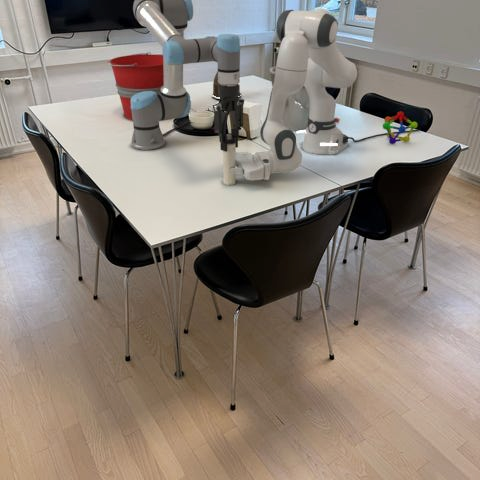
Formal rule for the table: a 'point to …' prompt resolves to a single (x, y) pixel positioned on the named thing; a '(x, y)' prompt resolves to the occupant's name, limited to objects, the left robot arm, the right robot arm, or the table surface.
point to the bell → (216, 86)
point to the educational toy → (398, 128)
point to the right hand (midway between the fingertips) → (227, 167)
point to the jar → (229, 164)
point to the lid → (231, 139)
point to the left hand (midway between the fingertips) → (229, 148)
